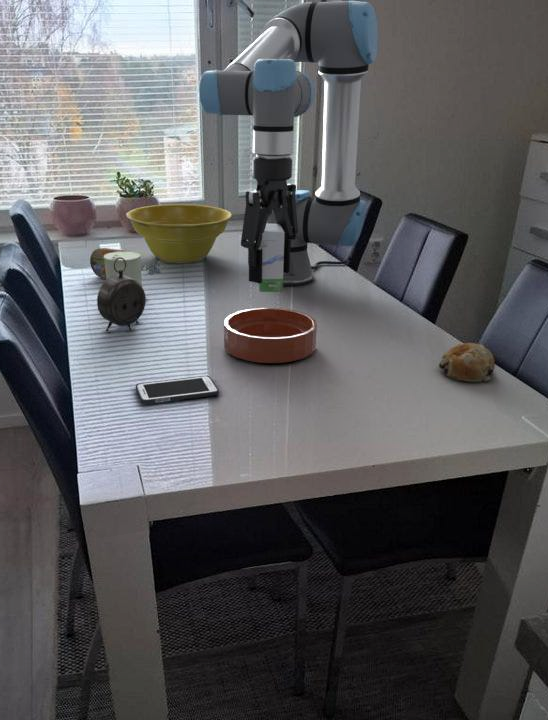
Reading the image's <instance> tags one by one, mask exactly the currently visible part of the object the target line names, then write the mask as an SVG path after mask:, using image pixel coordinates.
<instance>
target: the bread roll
mask: <svg viewBox="0 0 548 720" xmlns="http://www.w3.org/2000/svg"><path fill="white" fill-rule="evenodd" d="M495 361H496V360H495V357H494V355H493V354H492V352H491V351H490V350H489V349H488V348H486V347H485V345H484V344H479V343H474V342H465V343H462V344H458V345H455V346H453V347H451V348H450V349H449V350H447V351H446V352H445V353H443V356H441V359H440V362H439V364H438V365H439V368H440V369H442V373H443V374H444V375H445V376H446V377H448V378H450V379H453V380H455V381H457V382H467V383H483V382H485V383H486V382H488V381H490V380H491V377H492V375H493V374H494V371H495V367H496V362H495Z"/></svg>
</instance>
